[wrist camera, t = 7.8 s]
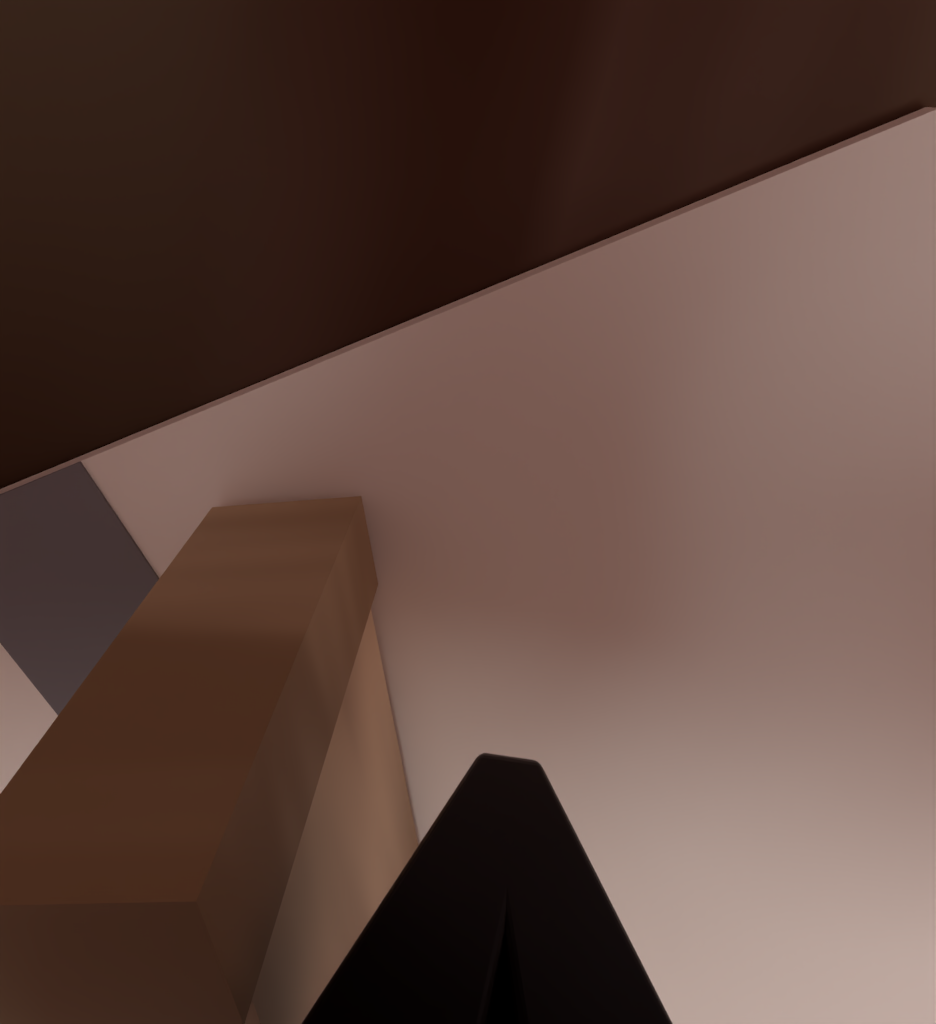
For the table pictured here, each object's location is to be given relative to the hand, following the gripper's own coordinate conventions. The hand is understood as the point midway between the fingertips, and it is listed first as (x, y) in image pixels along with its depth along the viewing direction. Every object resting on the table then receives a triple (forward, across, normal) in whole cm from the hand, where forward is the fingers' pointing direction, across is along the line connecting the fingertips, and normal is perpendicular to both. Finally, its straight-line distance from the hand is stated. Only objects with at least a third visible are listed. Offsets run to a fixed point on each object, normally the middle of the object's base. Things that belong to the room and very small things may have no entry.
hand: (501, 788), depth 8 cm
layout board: (+3, +2, +6) cm, 8 cm away
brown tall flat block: (+3, +1, +5) cm, 6 cm away
